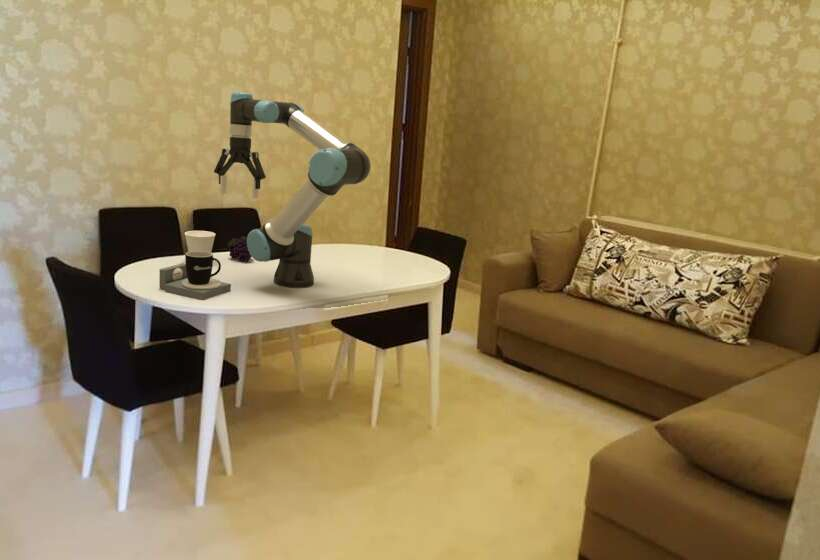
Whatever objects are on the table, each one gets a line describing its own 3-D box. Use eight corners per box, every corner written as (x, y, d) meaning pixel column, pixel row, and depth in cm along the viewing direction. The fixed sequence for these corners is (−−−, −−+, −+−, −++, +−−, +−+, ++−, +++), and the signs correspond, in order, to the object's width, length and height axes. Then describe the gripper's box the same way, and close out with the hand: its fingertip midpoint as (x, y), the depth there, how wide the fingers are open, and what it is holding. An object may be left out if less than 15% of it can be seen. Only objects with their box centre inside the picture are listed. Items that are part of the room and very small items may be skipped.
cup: (220, 265, 266) (221, 235, 263) (194, 268, 257) (194, 237, 254) (204, 259, 273) (205, 229, 270) (178, 261, 264) (178, 231, 261)
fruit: (239, 270, 272) (220, 254, 281) (261, 264, 279) (242, 248, 288) (240, 249, 267) (221, 233, 275) (262, 243, 274) (242, 228, 282)
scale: (230, 290, 232) (231, 271, 230) (202, 300, 218) (203, 279, 216) (185, 281, 238) (186, 262, 237) (156, 289, 225) (156, 269, 223)
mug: (189, 286, 219) (190, 257, 217) (181, 280, 226) (182, 251, 224) (224, 284, 226) (225, 255, 224) (215, 278, 233) (216, 250, 231)
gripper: (276, 140, 236) (274, 198, 241) (217, 133, 243) (216, 190, 248) (265, 140, 229) (263, 200, 234) (204, 133, 236) (204, 192, 241)
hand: (239, 195), depth 241 cm, fingers open, 13 cm apart
